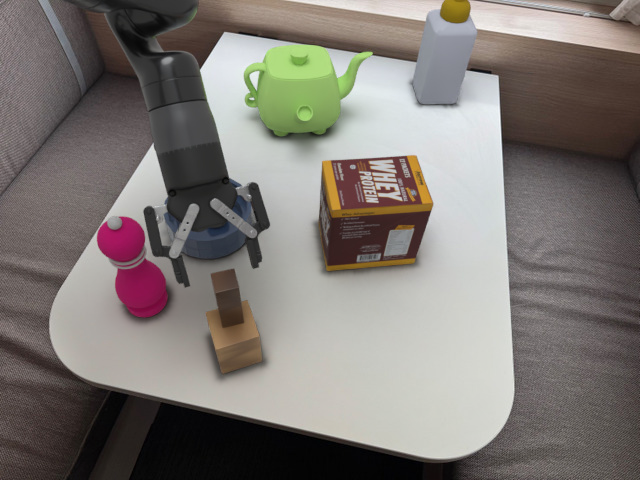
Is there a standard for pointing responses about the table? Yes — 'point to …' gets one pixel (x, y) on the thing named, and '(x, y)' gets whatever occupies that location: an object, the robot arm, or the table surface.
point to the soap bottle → (444, 53)
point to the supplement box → (372, 211)
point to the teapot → (299, 88)
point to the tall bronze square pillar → (228, 297)
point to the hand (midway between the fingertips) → (222, 276)
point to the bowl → (214, 233)
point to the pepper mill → (132, 266)
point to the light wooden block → (235, 340)
